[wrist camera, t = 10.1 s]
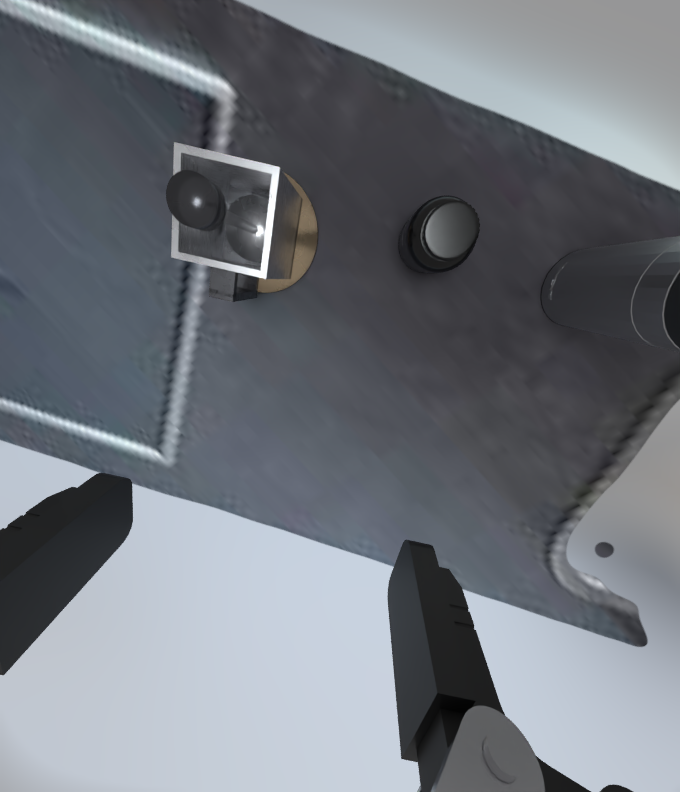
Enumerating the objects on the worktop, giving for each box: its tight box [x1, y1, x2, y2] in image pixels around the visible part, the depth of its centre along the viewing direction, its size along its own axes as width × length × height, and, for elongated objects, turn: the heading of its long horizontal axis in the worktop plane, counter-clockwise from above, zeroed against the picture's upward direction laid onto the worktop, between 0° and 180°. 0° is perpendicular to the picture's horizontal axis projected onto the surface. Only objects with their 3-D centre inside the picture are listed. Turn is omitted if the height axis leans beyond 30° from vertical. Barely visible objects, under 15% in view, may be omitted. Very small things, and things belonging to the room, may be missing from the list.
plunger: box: [166, 170, 269, 262], centre depth 30 cm, size 7×7×15 cm
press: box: [171, 142, 318, 302], centre depth 34 cm, size 14×14×12 cm
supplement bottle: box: [399, 196, 480, 273], centre depth 33 cm, size 7×7×12 cm
